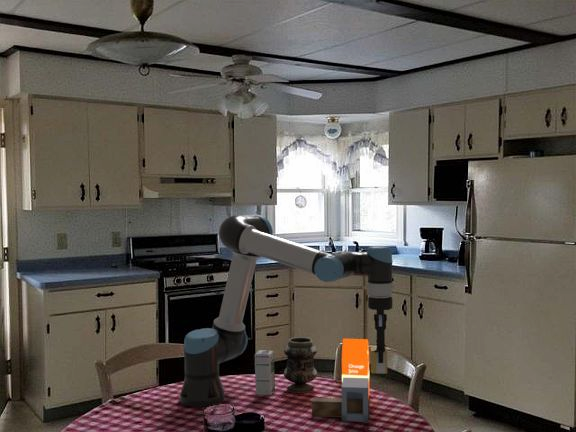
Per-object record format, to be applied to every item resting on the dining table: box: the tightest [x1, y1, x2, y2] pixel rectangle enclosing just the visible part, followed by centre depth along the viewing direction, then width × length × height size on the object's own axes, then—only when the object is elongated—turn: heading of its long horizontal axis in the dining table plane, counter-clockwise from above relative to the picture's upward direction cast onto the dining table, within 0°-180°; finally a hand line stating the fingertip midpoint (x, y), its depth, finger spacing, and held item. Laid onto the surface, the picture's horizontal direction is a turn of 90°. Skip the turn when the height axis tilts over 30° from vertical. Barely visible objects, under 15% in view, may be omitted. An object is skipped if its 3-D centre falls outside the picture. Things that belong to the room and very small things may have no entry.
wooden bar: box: [311, 397, 370, 419], centre depth 195 cm, size 18×4×5 cm, turn 83°
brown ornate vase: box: [283, 336, 318, 394], centre depth 221 cm, size 12×12×18 cm
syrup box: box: [254, 349, 276, 396], centre depth 218 cm, size 6×6×14 cm
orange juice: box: [341, 338, 370, 398], centre depth 212 cm, size 8×9×20 cm
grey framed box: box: [341, 378, 370, 423], centre depth 194 cm, size 8×10×10 cm
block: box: [370, 346, 388, 375], centre depth 193 cm, size 5×5×7 cm
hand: (380, 370), depth 193 cm, fingers closed on block, 5 cm apart
